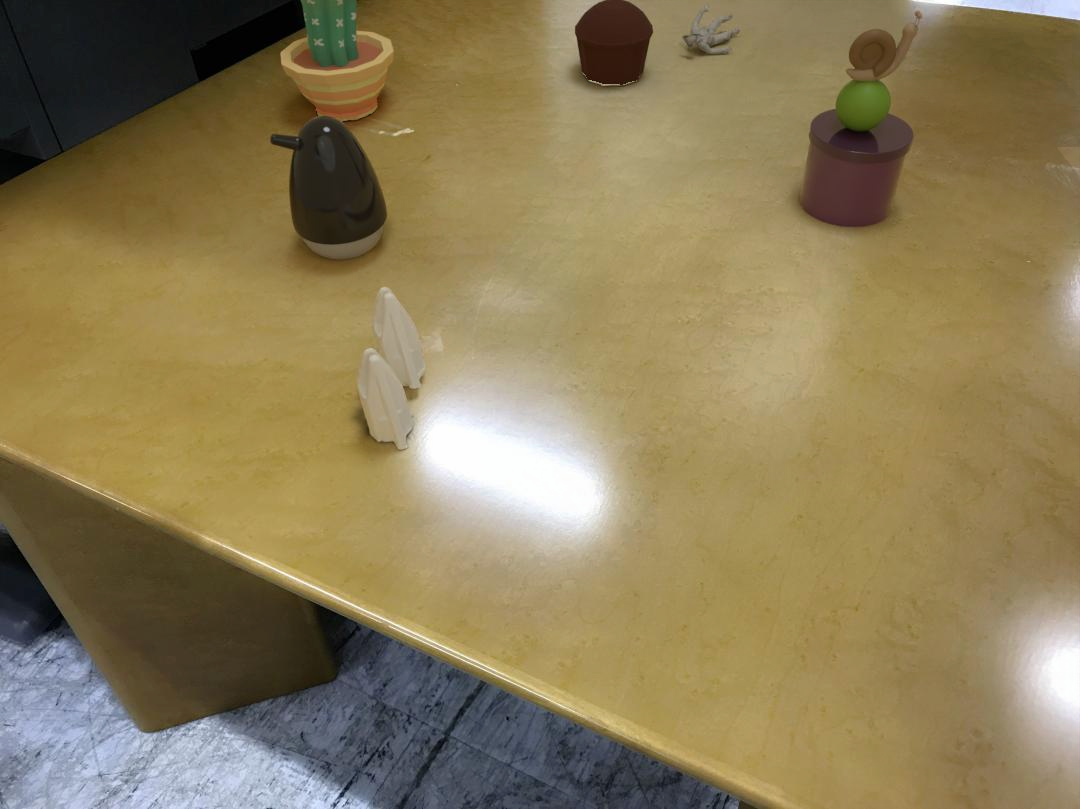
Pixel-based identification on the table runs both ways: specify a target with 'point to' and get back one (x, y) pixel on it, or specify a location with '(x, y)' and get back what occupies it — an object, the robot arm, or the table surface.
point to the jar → (853, 170)
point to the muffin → (613, 42)
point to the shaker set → (390, 371)
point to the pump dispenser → (333, 190)
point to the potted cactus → (337, 60)
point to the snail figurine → (871, 77)
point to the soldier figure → (709, 34)
